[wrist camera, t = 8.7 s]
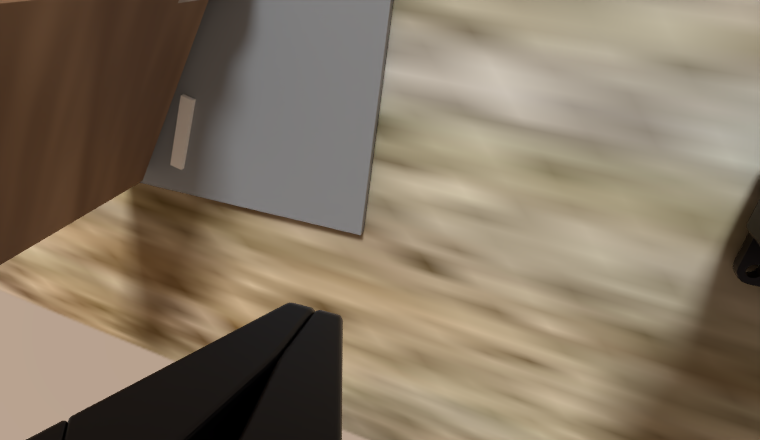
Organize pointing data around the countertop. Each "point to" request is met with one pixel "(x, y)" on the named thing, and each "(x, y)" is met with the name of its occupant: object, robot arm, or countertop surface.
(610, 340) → the countertop surface
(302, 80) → the slate base
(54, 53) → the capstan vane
